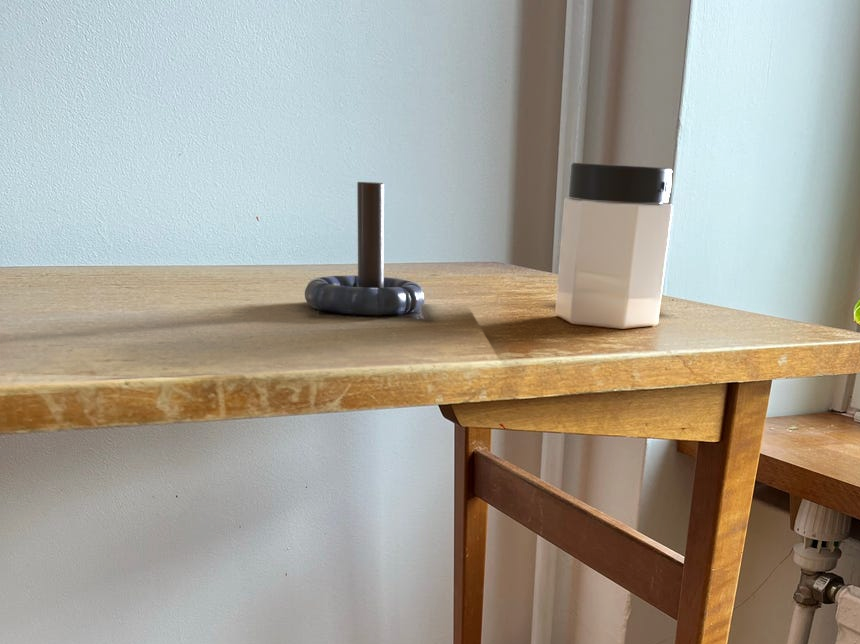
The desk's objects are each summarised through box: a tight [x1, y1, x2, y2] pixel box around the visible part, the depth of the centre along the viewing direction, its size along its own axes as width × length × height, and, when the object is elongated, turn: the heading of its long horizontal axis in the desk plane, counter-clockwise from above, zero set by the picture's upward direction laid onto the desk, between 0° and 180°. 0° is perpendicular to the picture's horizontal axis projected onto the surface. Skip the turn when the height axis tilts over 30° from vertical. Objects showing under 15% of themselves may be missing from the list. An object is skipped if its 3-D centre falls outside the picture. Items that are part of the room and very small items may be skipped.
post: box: [316, 181, 425, 320], centre depth 75 cm, size 8×8×10 cm
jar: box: [554, 162, 674, 330], centre depth 81 cm, size 9×8×12 cm
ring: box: [304, 274, 425, 316], centre depth 76 cm, size 9×9×2 cm
